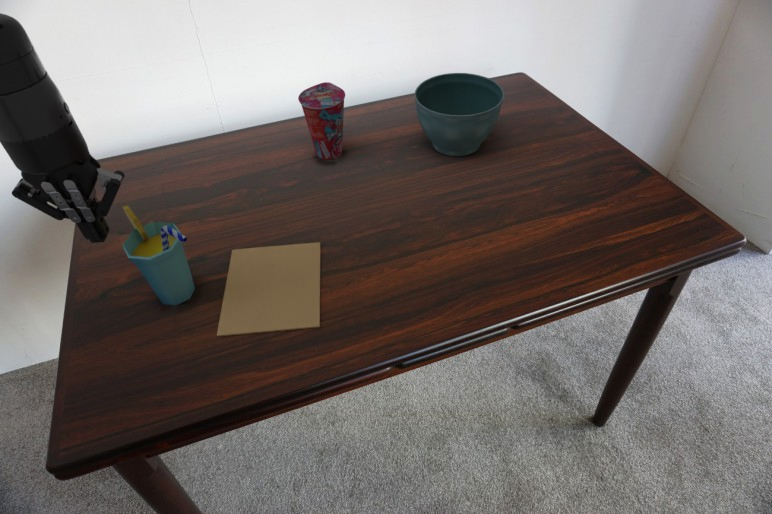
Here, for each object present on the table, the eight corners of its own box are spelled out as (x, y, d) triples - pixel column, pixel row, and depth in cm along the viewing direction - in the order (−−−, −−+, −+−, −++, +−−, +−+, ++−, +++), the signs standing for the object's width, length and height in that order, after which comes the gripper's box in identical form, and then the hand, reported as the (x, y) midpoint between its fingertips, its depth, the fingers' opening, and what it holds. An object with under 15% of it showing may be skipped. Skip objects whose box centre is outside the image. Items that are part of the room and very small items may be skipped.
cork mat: (217, 336, 71) (216, 335, 71) (232, 250, 83) (232, 249, 83) (319, 327, 71) (319, 326, 71) (320, 243, 84) (320, 242, 83)
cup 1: (234, 294, 76) (205, 216, 66) (195, 331, 72) (157, 253, 61) (168, 261, 82) (132, 184, 71) (128, 294, 77) (83, 216, 67)
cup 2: (357, 158, 100) (351, 100, 92) (315, 169, 98) (305, 111, 90) (341, 134, 107) (335, 78, 98) (301, 144, 105) (291, 88, 96)
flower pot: (448, 178, 95) (451, 124, 87) (398, 139, 105) (397, 88, 97) (514, 148, 101) (523, 96, 93) (461, 114, 110) (465, 65, 103)
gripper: (-49, 144, 53) (38, 263, 65) (83, 133, 54) (144, 253, 66) (-15, 107, 59) (59, 224, 71) (104, 98, 59) (157, 215, 71)
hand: (100, 238), depth 68 cm, fingers closed
